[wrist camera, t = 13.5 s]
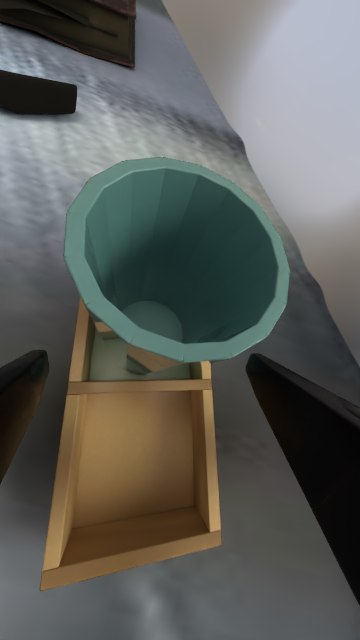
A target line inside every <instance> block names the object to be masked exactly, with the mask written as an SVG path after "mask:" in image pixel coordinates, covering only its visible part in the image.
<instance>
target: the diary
mask: <svg viewBox="0 0 360 640" xmlns="http://www.w3.org/2000/svg"><path fill="white" fill-rule="evenodd" d="M135 19H136V0H0V21H2V22H6V23H9V24H13V25H16V26H20V27H23V28H27V29H30V30H34V31H37V32H39V33H41V34H43V35H45V36H47V37H50V38H52V39H54V40H56V41H58V42H60V43H63V44H65V45H67V46H69V47H71V48H73V49H76V50H78V51H80V52H82V53H84V54H86V55H90V56H94V57H97V58H101V59H105V60H109V61H112V62H116V63H120V64H123V65H127V66H130V67H133V68H134V67H135Z"/></svg>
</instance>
